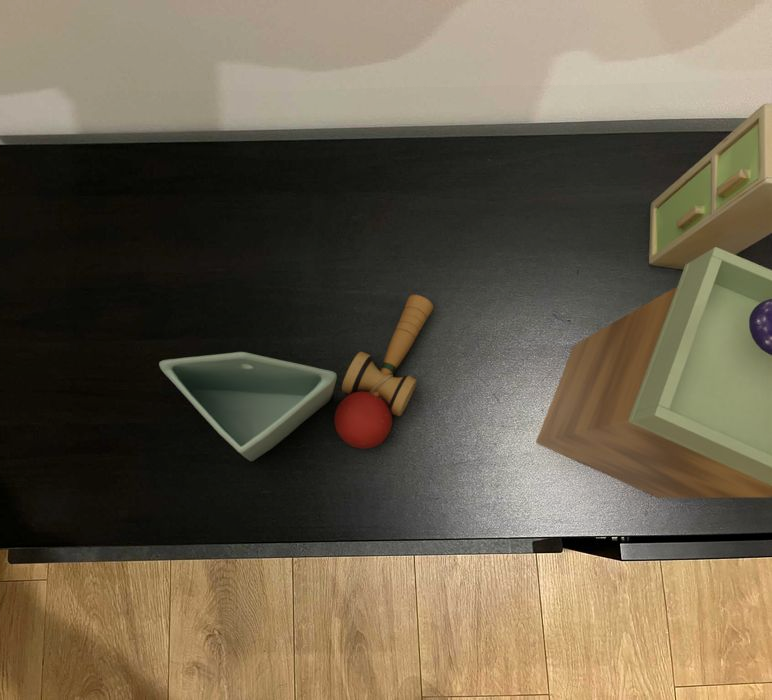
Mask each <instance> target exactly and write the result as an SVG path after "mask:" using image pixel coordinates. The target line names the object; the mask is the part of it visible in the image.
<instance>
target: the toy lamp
mask: <svg viewBox="0 0 772 700" xmlns="http://www.w3.org/2000/svg"><path fill="white" fill-rule="evenodd" d="M749 329H750V332H751V335H752V338H753V340H754V341H755V343H756V344H757V345H758V346H759V347H760V348H761V349H762V350H763V351H765V352H766V353H768V354H770V355H772V299H769V300H766V301H763V302H762V303H760V304H758V305H757V306H756V307H755V308H754V310H753V311H752V313H751V315H750V318H749Z"/></svg>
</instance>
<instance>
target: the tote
mask: <svg viewBox="0 0 772 700" xmlns="http://www.w3.org/2000/svg"><path fill="white" fill-rule="evenodd" d="M676 287H677V289H676V292H675V294H674V297H673V300H672V303H671V305H670V308H669V311H668V314H667V316H666V319H665V322H664V324H663V327H662V330H661V333H660V335H659V338H658V341H657V344H656V346H655V349H654V352H653V354H652V357H651V360H650V363H649V365H648V368H647V371H646V374H645V376H644V379H643V382H642V384H641V387H640V390H639V393H638V395H637V398H636V401H635V404H634V406H633V409H632V412H631V414H630V417H629V420H628V422H629V423H632V424H634V425H636V426H638V427H641V428H643V429H645V430H647V431H650V432H652V433H654V434H656V435H659V436H661V437H663V438H665V439H668V440H670V441H672V442H674V443H676V444H679V445H681V446H683V447H685V448H688V449H690V450H692V451H694V452H697V453H699V454H701V455H703V456H706V457H708V458H710V459H712V460H715V461H717V462H719V463H721V464H724V465H726V466H728V467H730V468H733V469H735V470H737V471H739V472H741V473H744V474H746V475H748V476H750V477H753V478H755V479H757V480H759V481H762V482H764V483H766V484H768V485H771V486H772V355H770V354H768V353H766V352H765V351H763V350H762V349H761V348H760V347H759V346H758V345H757V344H756V343H755V341H754V340H753V338H752V335H751V332H750V329H749V318H750V315H751V313H752V311H753V310H754V308H755V307H756V306H757V305H758V304H760V303H762V302H763V301H766V300H769V299H772V269H769V268H768V267H766V266H765V267H764V266H763V265H759V264H758V263H756V262H753V261H751V260H748V259H746V258H743V257H741V256H738V255H737V254H735V255H734V254H731V253H729V252H727V251H724V250H722V249H720V248H717V247H714V248H713V249H711V250H709V251H708V252H706V253H704V254H703V255H701V256H700V257H698V258H696V259H695V260H693V261H691V262H690V263H688V264H686V265H685V267H684V270H682V272H681V276H680V278H679V281H678V284H677V286H676Z"/></svg>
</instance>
